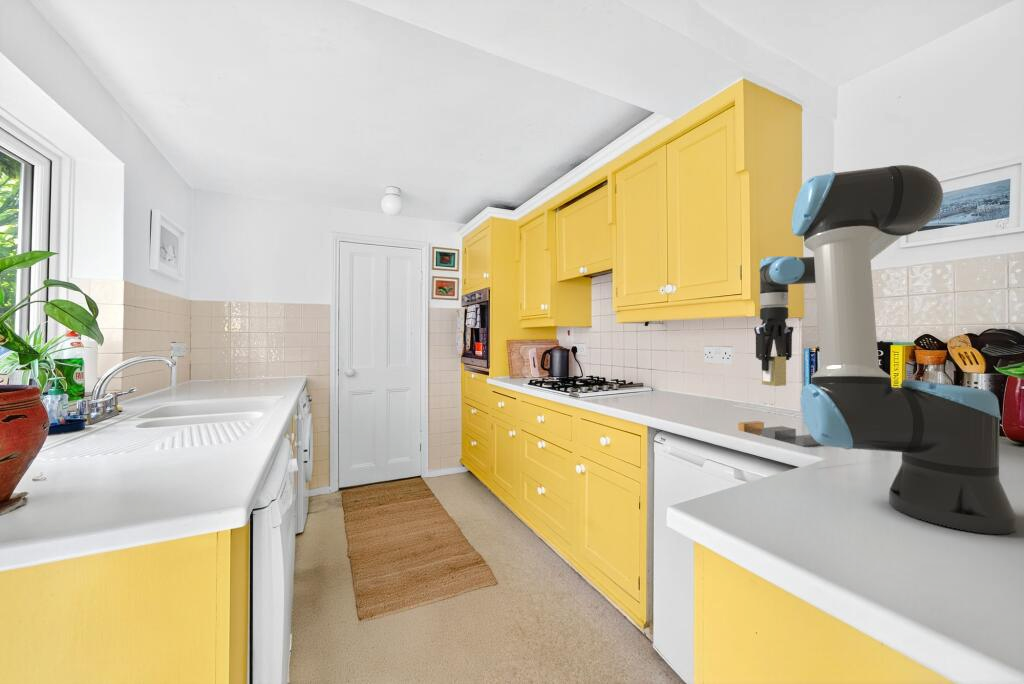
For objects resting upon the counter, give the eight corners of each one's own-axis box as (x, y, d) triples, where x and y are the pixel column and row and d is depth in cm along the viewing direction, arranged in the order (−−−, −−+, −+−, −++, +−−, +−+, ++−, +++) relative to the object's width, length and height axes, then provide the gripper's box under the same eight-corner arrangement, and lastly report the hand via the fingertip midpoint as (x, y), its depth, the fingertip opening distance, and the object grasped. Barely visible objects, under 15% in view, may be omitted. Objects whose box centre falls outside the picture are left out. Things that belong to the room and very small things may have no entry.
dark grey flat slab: (803, 448, 114) (803, 437, 114) (738, 431, 135) (738, 422, 135) (825, 445, 116) (825, 435, 116) (758, 429, 137) (758, 420, 137)
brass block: (774, 386, 125) (774, 356, 124) (762, 384, 129) (762, 356, 129) (786, 385, 126) (786, 356, 126) (772, 383, 130) (773, 355, 130)
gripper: (762, 305, 121) (762, 383, 121) (806, 306, 126) (806, 381, 126) (741, 307, 128) (741, 380, 128) (784, 307, 133) (784, 378, 133)
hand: (773, 380), depth 127 cm, fingers closed on brass block, 4 cm apart
